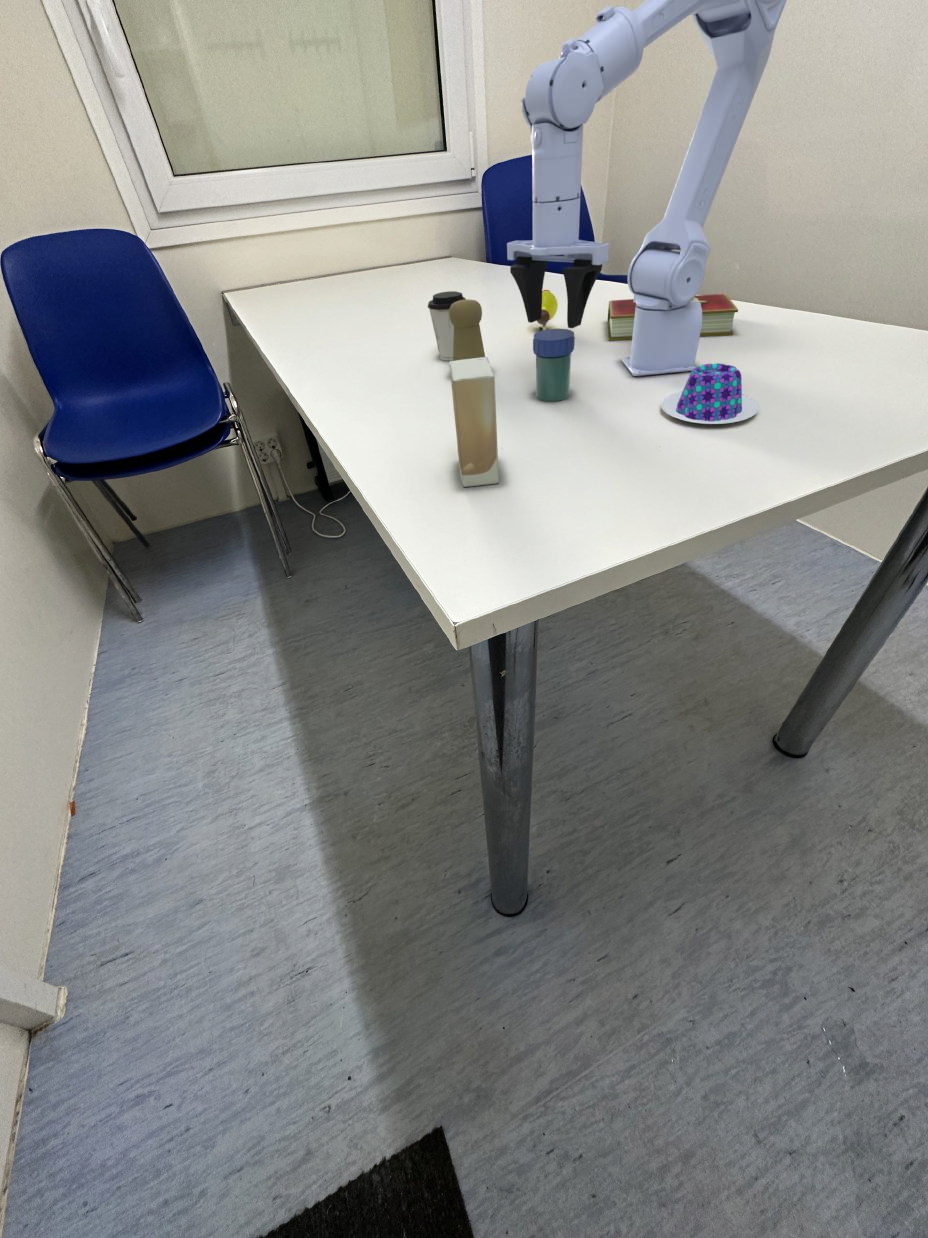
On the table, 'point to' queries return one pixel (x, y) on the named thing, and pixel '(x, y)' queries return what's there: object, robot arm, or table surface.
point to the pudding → (711, 397)
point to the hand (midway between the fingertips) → (553, 323)
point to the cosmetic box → (475, 420)
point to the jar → (553, 378)
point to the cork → (466, 329)
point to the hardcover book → (714, 306)
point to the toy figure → (547, 308)
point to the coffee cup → (444, 321)
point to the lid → (553, 342)
